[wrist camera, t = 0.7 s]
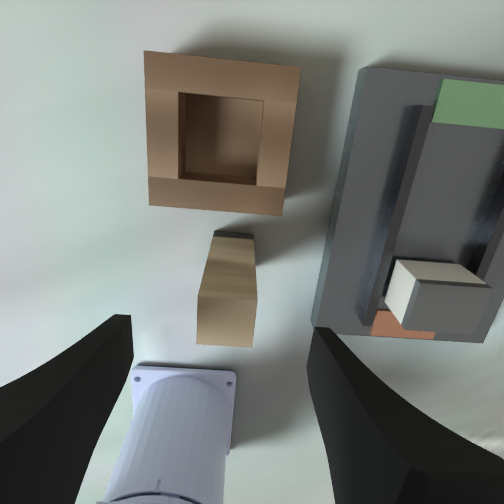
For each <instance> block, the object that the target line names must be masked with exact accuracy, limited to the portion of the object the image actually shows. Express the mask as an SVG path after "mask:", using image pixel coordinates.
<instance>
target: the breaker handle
mask: <svg viewBox="0 0 504 504" xmlns="http://www.w3.org/2000/svg"><path fill="white" fill-rule="evenodd" d="M492 291H493V288H492V287H490V286H489V285H488V284H486V283H485V282H484V281H482V280H481V279H479V278H478V277H477V276H475V275H474V274H473V273H471V272H470V271H468V270H467V269H466V268H464V267H463V266H462V265H460V264H450V263H437V262H424V261H411V260H398V259H397V260H396V263H395V267H394V270H393V273H392V277H391V280H390V284H389V287H388V291H387V294H386V297H385V301H384V302H385V303H386V304H387V306H388V307H389V309H390V310H391V311H392V313H393V314H394V316H395V317H396V318H397V320H398V321H399V323H400V324H401V325H402V327H403V328H404V330H411V331H426V332H442V333H457V334H474V332H475V330H476V327H477V325H478V323H479V320H480V318H481V316H482V314H483V311H484V309H485V307H486V304H487V302H488V300H489V298H490V295H491V293H492Z"/></svg>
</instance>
